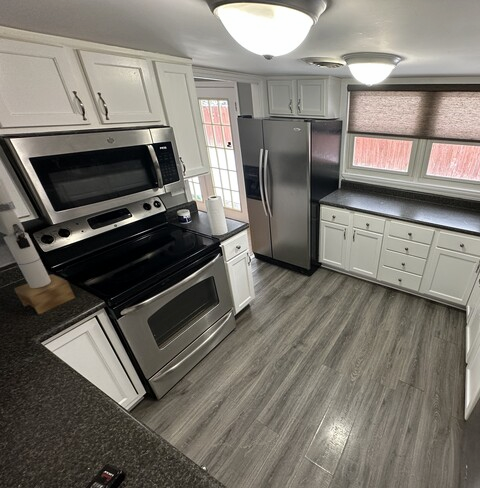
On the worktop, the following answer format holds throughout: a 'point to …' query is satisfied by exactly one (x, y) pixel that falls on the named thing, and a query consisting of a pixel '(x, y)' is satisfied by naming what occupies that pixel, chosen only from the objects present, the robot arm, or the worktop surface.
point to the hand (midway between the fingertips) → (20, 245)
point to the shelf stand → (46, 294)
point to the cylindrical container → (28, 262)
